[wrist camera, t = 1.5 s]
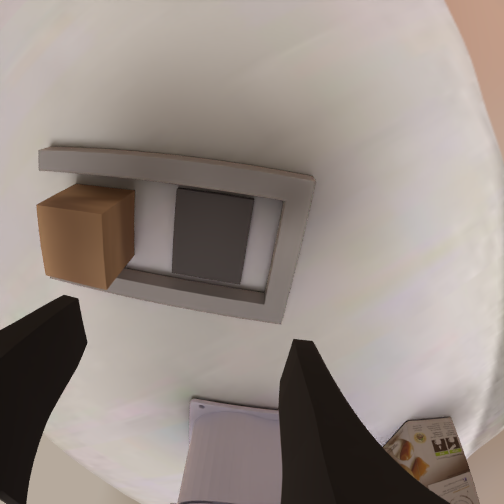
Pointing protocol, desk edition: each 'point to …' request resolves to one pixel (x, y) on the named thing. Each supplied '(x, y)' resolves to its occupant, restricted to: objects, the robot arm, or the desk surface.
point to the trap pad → (210, 234)
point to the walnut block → (87, 234)
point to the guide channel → (212, 177)
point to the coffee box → (434, 458)
